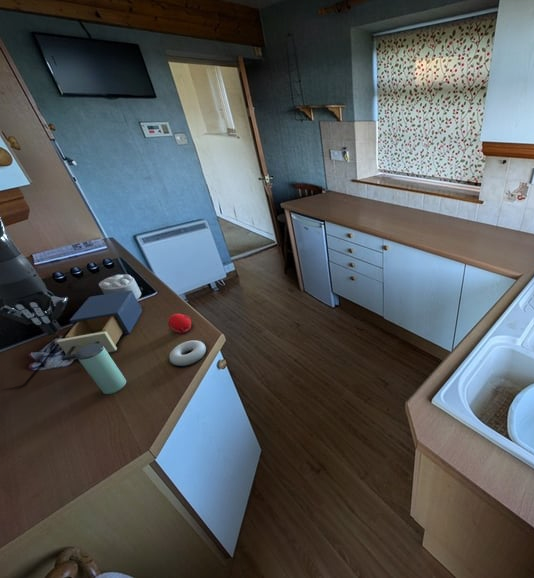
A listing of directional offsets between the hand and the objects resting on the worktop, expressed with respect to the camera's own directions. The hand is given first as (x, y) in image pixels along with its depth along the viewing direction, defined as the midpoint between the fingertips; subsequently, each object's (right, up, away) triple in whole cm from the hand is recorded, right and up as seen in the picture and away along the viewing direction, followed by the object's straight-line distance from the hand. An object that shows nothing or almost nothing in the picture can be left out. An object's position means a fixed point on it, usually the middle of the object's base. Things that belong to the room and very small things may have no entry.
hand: (54, 332), depth 77 cm
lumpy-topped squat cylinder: (-22, +8, +46) cm, 51 cm away
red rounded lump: (+14, -3, +29) cm, 32 cm away
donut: (+24, -10, +17) cm, 32 cm away
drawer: (-7, -8, +19) cm, 21 cm away
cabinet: (-11, -2, +30) cm, 32 cm away
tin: (+10, -16, +7) cm, 20 cm away
